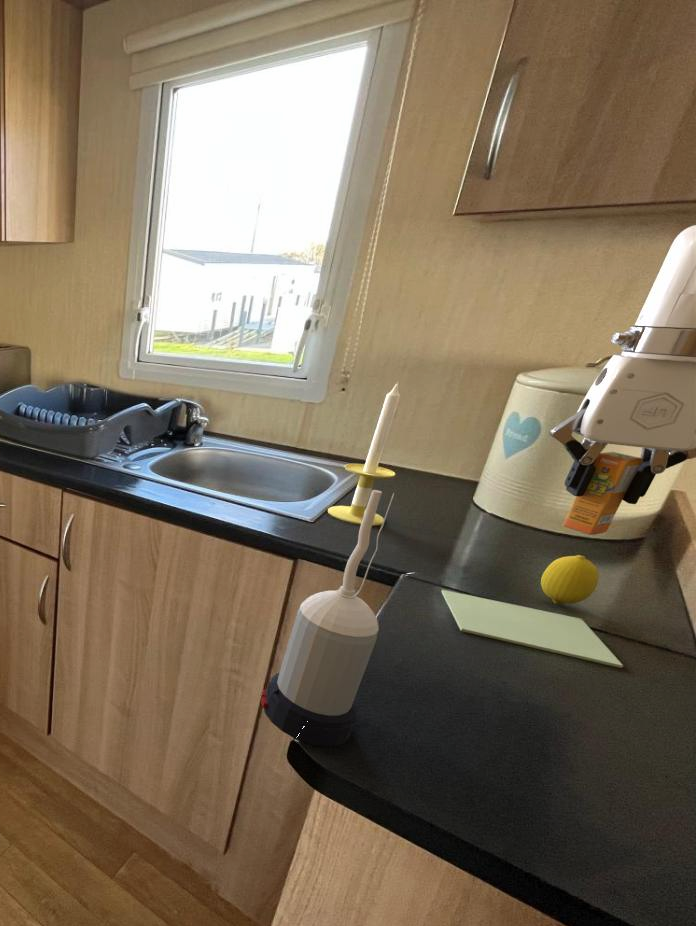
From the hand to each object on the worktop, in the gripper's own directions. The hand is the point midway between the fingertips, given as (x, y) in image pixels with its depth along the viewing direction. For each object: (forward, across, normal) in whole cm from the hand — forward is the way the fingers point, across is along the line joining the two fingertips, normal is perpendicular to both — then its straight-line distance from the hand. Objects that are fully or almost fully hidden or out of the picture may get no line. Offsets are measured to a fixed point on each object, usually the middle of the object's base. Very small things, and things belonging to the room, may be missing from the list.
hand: (599, 495), depth 69 cm
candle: (+19, -20, +33) cm, 43 cm away
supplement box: (+5, 0, 0) cm, 5 cm away
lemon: (+19, +4, +8) cm, 21 cm away
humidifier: (+19, -29, -38) cm, 52 cm away
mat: (+19, -2, -3) cm, 19 cm away
